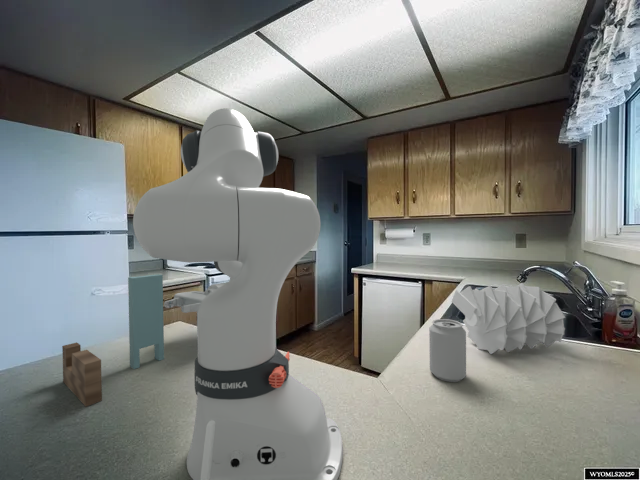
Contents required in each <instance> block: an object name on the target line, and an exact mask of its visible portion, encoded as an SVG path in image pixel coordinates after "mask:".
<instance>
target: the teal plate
mask: <svg viewBox="0 0 640 480" xmlns="http://www.w3.org/2000/svg"><path fill="white" fill-rule="evenodd" d="M163 276H164V275H163V274H149V275H139V276H131V277H127V278H128V279H127V281H128V282H127V284H128V285H127V286H128V288H127V289H128V290H127V291H128V335H129V338H128V339H129V341H128V342H129V367H130V368H131V369H133V370H136V369H139V368H141V367H140V366H141V364H140V363H141V362H140V361H141V360H140V358H141V357H140V356H141V355H140V353H141V351H140V350H141V349H144V348H148V347H151V346H153V347H154V349H153V350H154V359H155V360H157V361H162V360H165V343H164V342H165V340H164V339H165V337H164V335H165V334H164V333H165V331H164V285H163V283H164V281H163V280H164V279H163V278H164V277H163Z"/></svg>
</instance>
